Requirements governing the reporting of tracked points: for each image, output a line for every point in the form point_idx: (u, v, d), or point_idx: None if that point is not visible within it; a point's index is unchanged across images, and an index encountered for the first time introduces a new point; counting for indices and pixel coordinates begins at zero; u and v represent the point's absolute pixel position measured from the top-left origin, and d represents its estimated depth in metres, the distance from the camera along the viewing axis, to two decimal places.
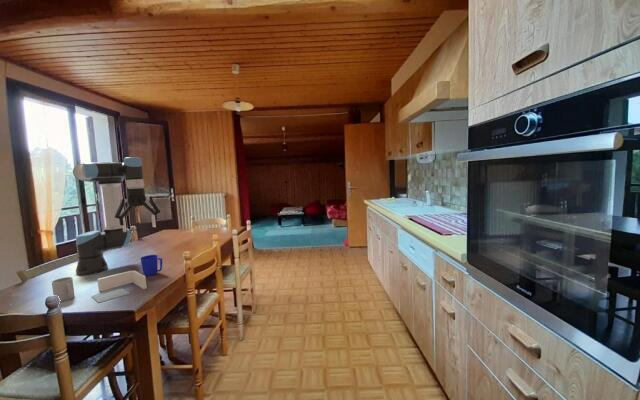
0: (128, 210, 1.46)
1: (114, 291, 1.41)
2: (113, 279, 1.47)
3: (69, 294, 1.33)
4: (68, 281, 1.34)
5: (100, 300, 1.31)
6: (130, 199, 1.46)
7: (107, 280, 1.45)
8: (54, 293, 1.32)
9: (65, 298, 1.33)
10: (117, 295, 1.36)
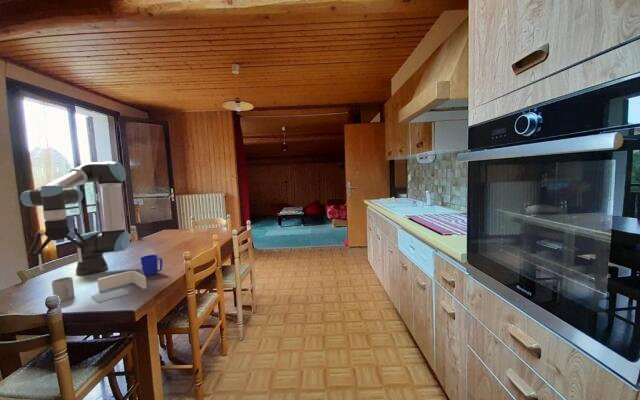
0: (45, 245, 1.29)
1: (114, 291, 1.41)
2: (113, 279, 1.47)
3: (69, 294, 1.33)
4: (68, 281, 1.34)
5: (100, 300, 1.31)
6: (48, 232, 1.29)
7: (107, 280, 1.45)
8: (54, 293, 1.32)
9: (65, 298, 1.33)
10: (117, 295, 1.36)
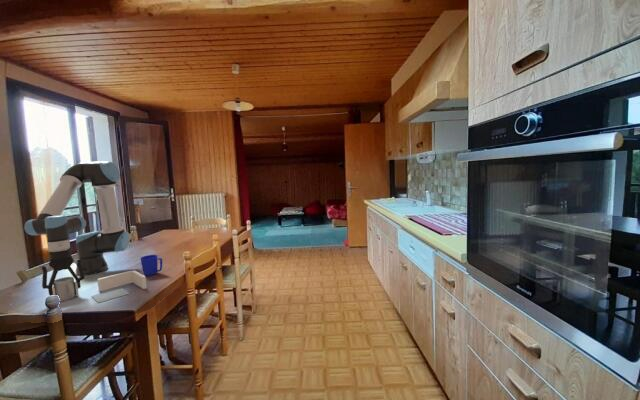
0: (55, 277, 1.31)
1: (114, 291, 1.41)
2: (113, 279, 1.47)
3: (70, 294, 1.33)
4: (69, 281, 1.35)
5: (100, 300, 1.31)
6: (52, 263, 1.30)
7: (107, 280, 1.45)
8: (55, 293, 1.32)
9: (66, 298, 1.34)
10: (117, 295, 1.36)
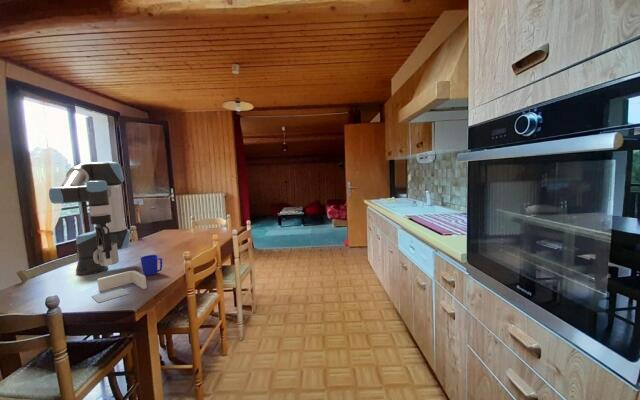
0: (98, 239, 1.36)
1: (114, 291, 1.41)
2: (113, 279, 1.47)
3: None
4: (100, 248, 1.32)
5: (100, 300, 1.31)
6: (97, 226, 1.35)
7: (107, 280, 1.45)
8: None
9: (100, 263, 1.34)
10: (117, 295, 1.36)
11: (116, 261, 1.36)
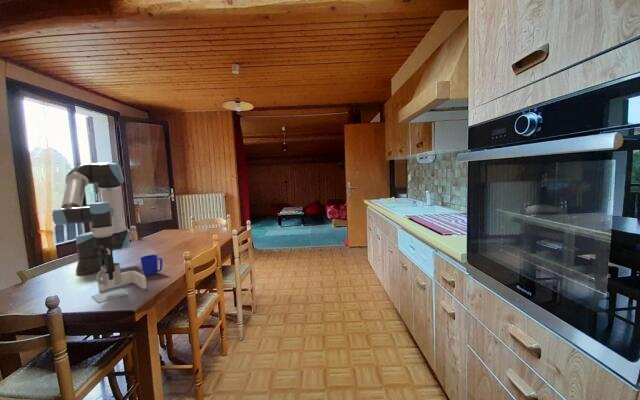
0: (101, 260, 1.37)
1: (114, 291, 1.41)
2: None
3: None
4: (103, 269, 1.33)
5: (100, 300, 1.31)
6: (100, 247, 1.36)
7: None
8: None
9: None
10: (117, 295, 1.36)
11: (119, 281, 1.37)
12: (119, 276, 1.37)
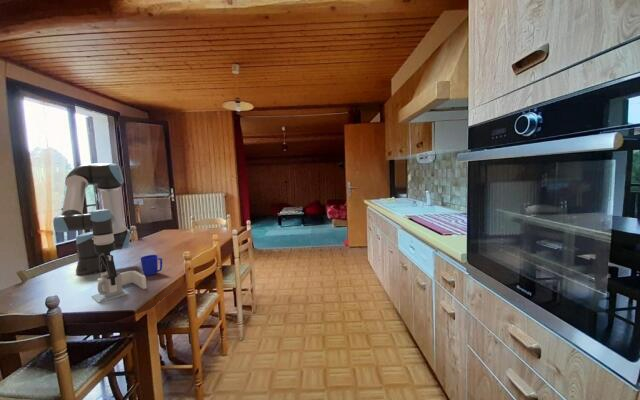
0: (101, 265, 1.38)
1: None
2: None
3: None
4: (104, 279, 1.34)
5: (100, 300, 1.31)
6: (101, 254, 1.37)
7: None
8: None
9: None
10: (117, 295, 1.36)
11: (120, 291, 1.38)
12: (120, 286, 1.38)
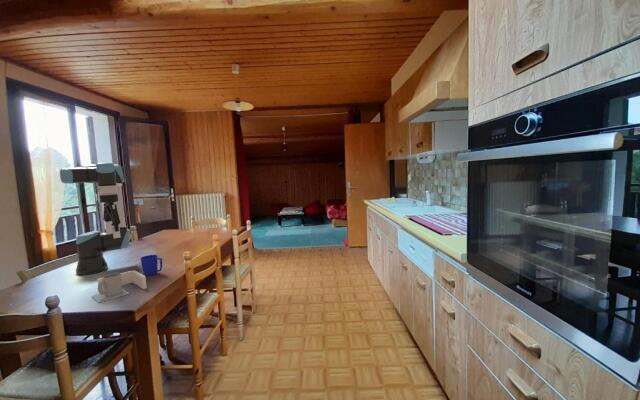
0: (105, 215, 1.50)
1: None
2: None
3: None
4: (104, 279, 1.34)
5: (100, 300, 1.31)
6: (105, 204, 1.48)
7: None
8: None
9: None
10: (117, 295, 1.36)
11: (120, 291, 1.38)
12: (120, 286, 1.38)
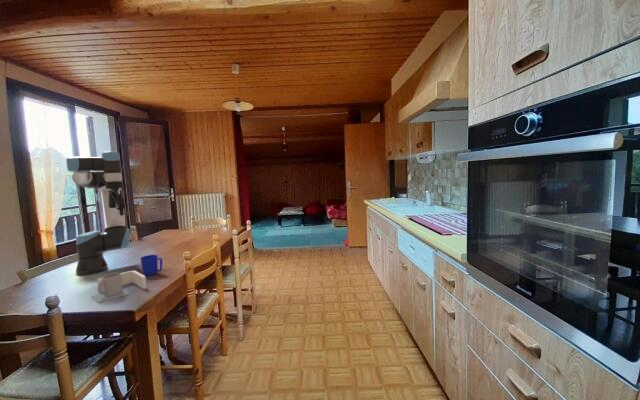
0: (110, 201, 1.59)
1: None
2: None
3: None
4: (104, 279, 1.34)
5: (100, 300, 1.31)
6: (110, 191, 1.58)
7: None
8: None
9: None
10: (117, 295, 1.36)
11: (120, 291, 1.38)
12: (120, 286, 1.38)
